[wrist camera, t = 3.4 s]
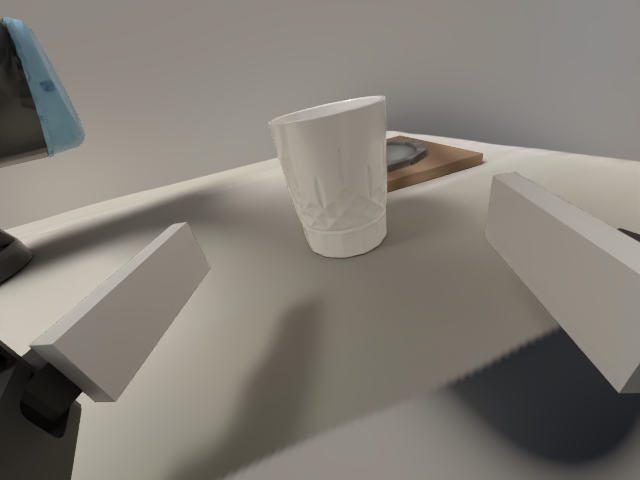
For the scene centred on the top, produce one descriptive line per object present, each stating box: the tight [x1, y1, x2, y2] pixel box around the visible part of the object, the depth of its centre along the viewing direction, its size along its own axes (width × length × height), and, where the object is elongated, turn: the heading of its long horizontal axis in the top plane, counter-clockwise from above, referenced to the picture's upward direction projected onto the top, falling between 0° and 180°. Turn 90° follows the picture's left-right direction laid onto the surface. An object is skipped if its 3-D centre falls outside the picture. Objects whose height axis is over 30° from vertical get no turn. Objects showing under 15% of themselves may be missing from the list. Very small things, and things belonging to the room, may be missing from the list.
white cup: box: [268, 96, 387, 258], centre depth 20 cm, size 8×8×10 cm
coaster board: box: [386, 136, 483, 192], centre depth 36 cm, size 18×18×2 cm
